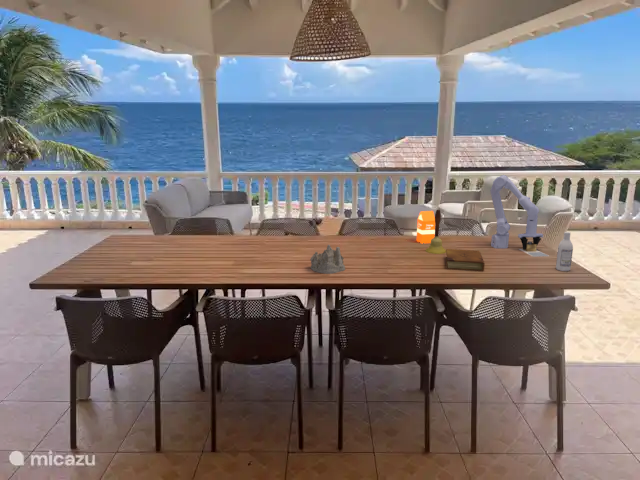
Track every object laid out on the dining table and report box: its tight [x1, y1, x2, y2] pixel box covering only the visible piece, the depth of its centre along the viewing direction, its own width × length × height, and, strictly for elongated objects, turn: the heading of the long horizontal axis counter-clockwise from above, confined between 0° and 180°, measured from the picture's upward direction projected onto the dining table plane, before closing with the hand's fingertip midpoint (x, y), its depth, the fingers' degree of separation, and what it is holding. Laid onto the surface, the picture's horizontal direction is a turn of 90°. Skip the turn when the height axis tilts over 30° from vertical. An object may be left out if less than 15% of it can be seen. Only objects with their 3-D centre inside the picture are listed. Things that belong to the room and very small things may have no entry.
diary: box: [445, 248, 485, 272], centre depth 273 cm, size 23×19×6 cm
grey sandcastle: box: [310, 244, 346, 275], centre depth 262 cm, size 16×16×15 cm
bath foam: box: [555, 231, 574, 272], centre depth 262 cm, size 7×7×20 cm
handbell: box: [425, 209, 446, 255], centre depth 296 cm, size 12×12×25 cm
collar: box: [521, 242, 538, 252], centre depth 298 cm, size 6×6×4 cm
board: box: [518, 248, 549, 257], centre depth 293 cm, size 10×17×1 cm, turn 7°
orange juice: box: [416, 210, 435, 245], centre depth 319 cm, size 8×9×20 cm
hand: (529, 249), depth 298 cm, fingers closed on collar, 6 cm apart
